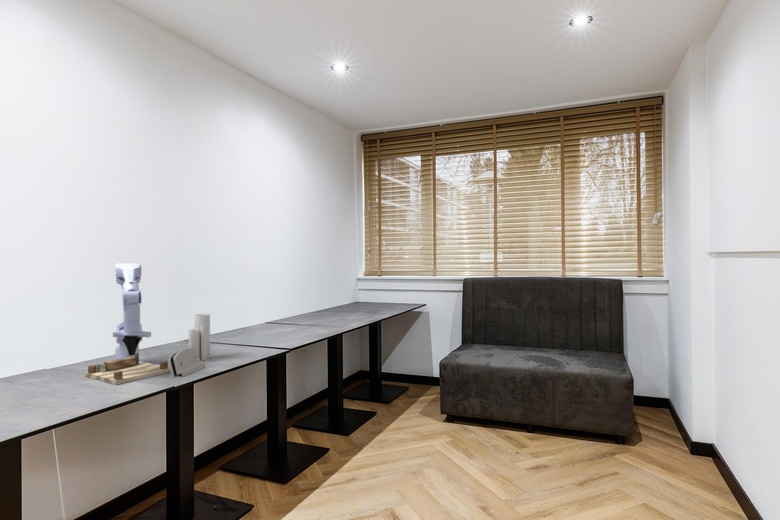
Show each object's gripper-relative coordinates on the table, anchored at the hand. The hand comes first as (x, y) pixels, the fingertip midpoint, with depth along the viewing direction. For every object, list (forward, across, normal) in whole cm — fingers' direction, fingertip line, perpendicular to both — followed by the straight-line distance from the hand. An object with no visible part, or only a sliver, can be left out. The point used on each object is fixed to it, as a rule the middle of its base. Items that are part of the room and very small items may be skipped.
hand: (132, 354), depth 181 cm
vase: (+8, +17, +25) cm, 31 cm away
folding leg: (+6, -6, +2) cm, 8 cm away
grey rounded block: (+8, +20, +4) cm, 22 cm away
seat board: (+7, 0, -1) cm, 7 cm away
